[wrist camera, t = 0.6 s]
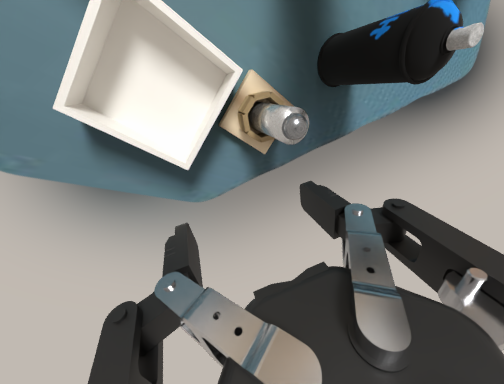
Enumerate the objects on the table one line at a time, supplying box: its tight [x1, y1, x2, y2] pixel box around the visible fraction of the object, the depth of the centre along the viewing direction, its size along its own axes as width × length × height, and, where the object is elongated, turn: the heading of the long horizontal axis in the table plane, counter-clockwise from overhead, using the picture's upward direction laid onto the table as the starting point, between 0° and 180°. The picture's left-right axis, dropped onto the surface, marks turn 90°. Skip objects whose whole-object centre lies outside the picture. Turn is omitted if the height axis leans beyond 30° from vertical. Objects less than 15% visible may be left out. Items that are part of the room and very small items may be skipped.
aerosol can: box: [318, 0, 484, 87], centre depth 28 cm, size 8×8×20 cm
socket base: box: [219, 69, 294, 154], centre depth 34 cm, size 10×10×4 cm
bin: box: [53, 0, 243, 170], centre depth 27 cm, size 16×16×6 cm
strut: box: [248, 102, 309, 144], centre depth 28 cm, size 5×5×14 cm
